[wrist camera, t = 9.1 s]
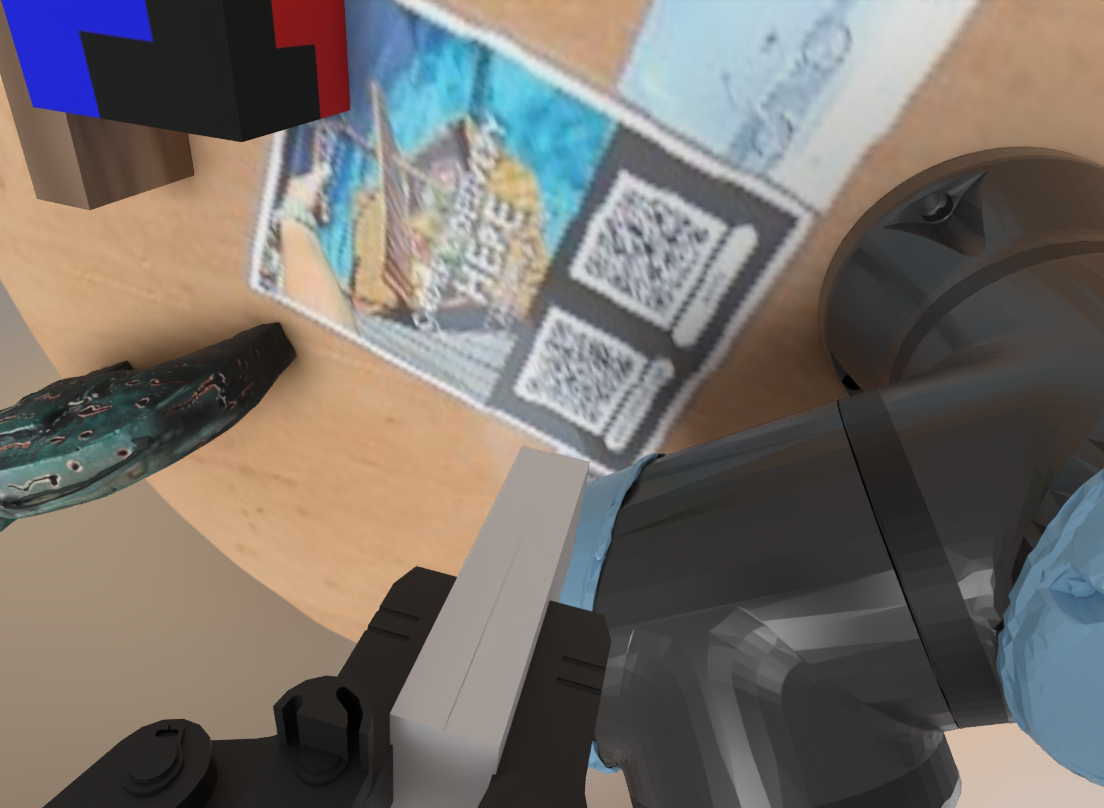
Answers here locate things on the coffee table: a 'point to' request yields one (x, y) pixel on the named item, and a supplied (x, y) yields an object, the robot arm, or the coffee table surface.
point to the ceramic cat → (129, 421)
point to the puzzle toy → (185, 62)
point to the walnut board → (87, 147)
